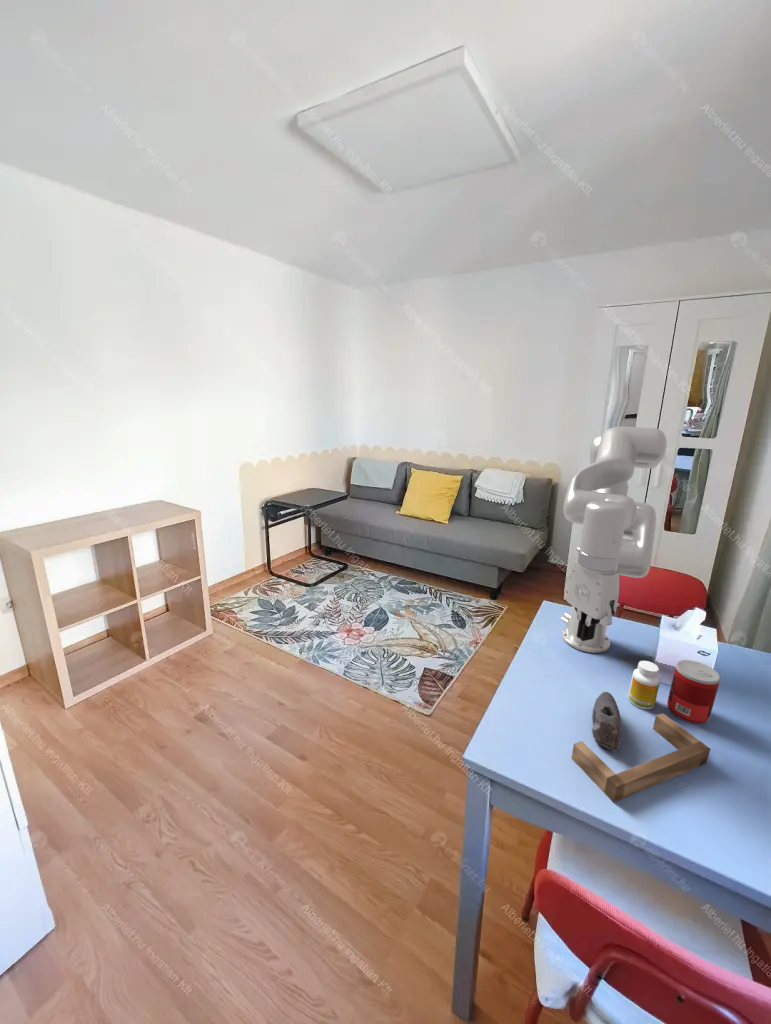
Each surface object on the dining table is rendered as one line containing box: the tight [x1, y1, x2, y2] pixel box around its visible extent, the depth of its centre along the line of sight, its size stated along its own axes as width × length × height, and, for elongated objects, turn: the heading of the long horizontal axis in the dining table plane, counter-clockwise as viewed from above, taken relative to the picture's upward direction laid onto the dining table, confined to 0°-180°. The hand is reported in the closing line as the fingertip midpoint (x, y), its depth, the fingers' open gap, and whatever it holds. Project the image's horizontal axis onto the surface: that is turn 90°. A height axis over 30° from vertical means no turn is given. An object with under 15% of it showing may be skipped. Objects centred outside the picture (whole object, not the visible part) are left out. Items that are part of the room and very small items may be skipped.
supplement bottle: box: [627, 660, 661, 710], centre depth 100 cm, size 5×5×10 cm
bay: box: [571, 712, 711, 803], centre depth 85 cm, size 10×24×4 cm, turn 111°
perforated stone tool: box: [591, 691, 622, 752], centre depth 92 cm, size 15×5×7 cm, turn 154°
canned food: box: [667, 659, 721, 725], centre depth 96 cm, size 8×8×11 cm
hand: (584, 637), depth 95 cm, fingers closed
